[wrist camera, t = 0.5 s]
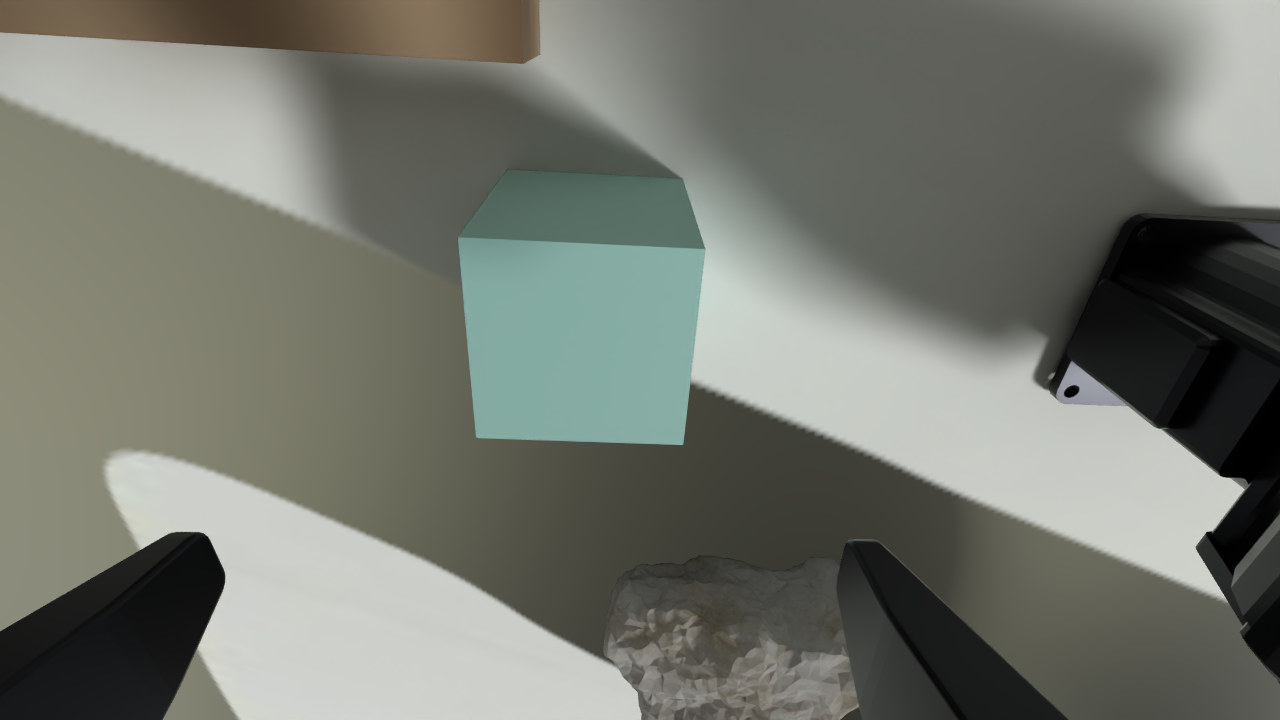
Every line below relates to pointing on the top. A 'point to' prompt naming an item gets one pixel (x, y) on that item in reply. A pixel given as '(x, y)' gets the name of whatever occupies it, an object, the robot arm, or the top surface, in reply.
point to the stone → (732, 641)
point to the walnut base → (299, 25)
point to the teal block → (582, 307)
